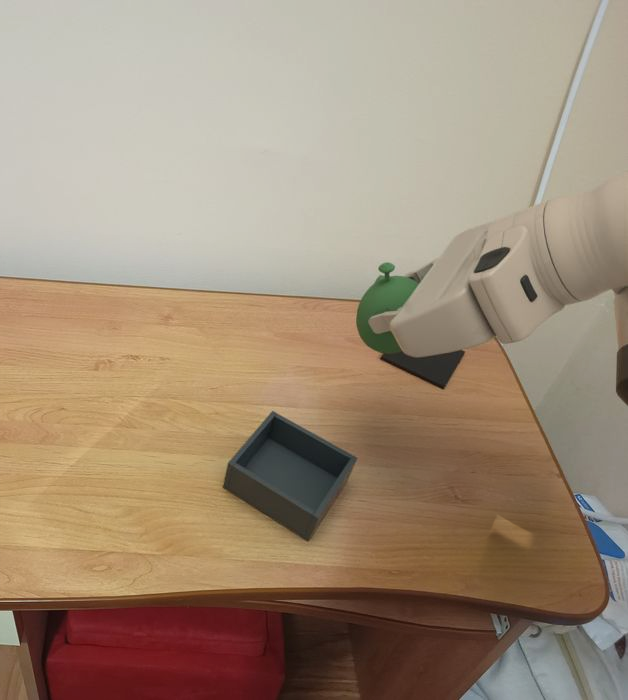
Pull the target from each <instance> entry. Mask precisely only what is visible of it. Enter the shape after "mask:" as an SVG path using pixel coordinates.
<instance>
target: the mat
mask: <svg viewBox="0 0 628 700" xmlns="http://www.w3.org/2000/svg"><path fill="white" fill-rule="evenodd" d="M465 354H466V351H464V350H459V351H454V352H449V353H444V354H438V355H432V356H426V357H412V356H409V355H406V354H405V353H404V352H403V351H401V352H398V353H392V354H386V353H382V355H381V356H380V358H379V359H380V360H381V361H384V362H386V363H388V364H389V365H392V366H394V367H396V368H397V369H400V370H403V371H405V372H407V373H409V374H411V375H412V376H415V377H417V378H419V379H422V380H423V381H425V382H428V383H430V384H432V385H435V386H436V387H439V388H440V389H442V390H444V389H445V388H446V387H447V384H448V383H449V381H450V380H451V377H452V376H453V374H454V373H455V371H456V369H457V367H458V366H459V364H460V363H461V361H462V359H463V357H464V355H465Z"/></svg>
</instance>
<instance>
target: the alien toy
mask: <svg viewBox="0 0 628 700" xmlns="http://www.w3.org/2000/svg"><path fill="white" fill-rule="evenodd" d="M377 270H378V271H379V272H380V273H382V274H381V275H380V274H379V275H378V277H377V278H376V279H375V281H374V283H373V284H371V286H369V287H368V289H366V291H365V292H364V294H363V295H362V297H361V299H360V301H359V302H358V305H357V309H356V317H355V323H356V324H355V325H356V329H357V332H358V335H359V337H360V339H361V341H362V342H363V343H364V344H365V345H366V346H367V347H368V348H369V349H371V350H373V351H375V352H377V353H380V354H383V353H386V354H392V353H398V352H401V351H402V350H401V348H400V346H399V344H398V343H397V341H396V339H395V337H394V335H393V333H392V331H388V332H384V333H380V334H376V333H374V332H373V330H372V328H371V327H370V325H369V323H368V320H369V319H370V318H371V317H372V315H373V314H374V313H375V312H377V311H381V310H383V309H387V308H388V309H389V311H397V310H398V308H400V307H402V306H403V305H404V304H405V302H406V301H407V300H408V298H409V297H410V296H411V294H412V293H413V292H414V290H415V289H416V288H417V286H418V285H419V283H417V282H416V281H414V280H412V279H410V278H407V277H403V276H404V275H391V276H390V273H392V272H393V271H394V270H396V265H394V263H392V262H387V261H386V262H383V263H381V264H380V265H379V266H378V269H377ZM383 274H384V275H383ZM424 277H425V275H424V276H422V279H423V278H424Z"/></svg>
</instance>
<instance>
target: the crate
mask: <svg viewBox="0 0 628 700" xmlns="http://www.w3.org/2000/svg"><path fill="white" fill-rule="evenodd" d="M357 460H358V457H357V456H355V455H353V454H352V453H350V452H348V451H346V450H344V449H342V448H341V447H339V446H337V445H335V444H334V443H332V442H330V441H328V440H326V439H325V438H323V437H321V436H319V435H317V434H316V433H314V432H312V431H310V430H309V429H306V428H304V427H303V426H302V425H299V424H298V423H295V422H294V421H292V420H290V419H288V418H287V417H284V416H283V415H281V414H279V413H277V412H276V411H274V410H272V411H271V412H270V413H269V414H268V415H267V416H266V418H265V419H264V420H263V421H262V422H261V423H260V425H259V426H258V427H257V428H256V429H255V431H254V432H253V433H251V435H250V436H249V438H248V439H247V440H246V441H245V443H244V444H242V446H240V448H239V449H238V451H236V453H235V454H234V455H233V456H232V458H231V459H230V460H229V461H228V462H227V466H226V471H225V475H224V479H223V484H222V485H223V486H222V488H223V489H225V490H226V491H228V492H229V493H231V494H232V495H233V496H235V497H237V498H239V499H240V500H242V501H243V502H245V503H247V504H248V505H249V506H251V507H253V508H255V509H256V510H258V511H259V512H261V513H262V514H263V515H266V516H267V517H268V518H270V519H272V520H273V521H274V522H277V523H278V524H280V525H281V526H283V527H284V528H286V529H288V530H289V531H291V532H292V533H294V534H295V535H297V536H299V538H302V539H303V540H305V541H307V542H310V540H311V539H312V537H313V536H314V534H315V533H316V531H317V530H318V528H319V526H320V525H321V523H323V520H324V519H325V518H326V515H327V514H328V512H329V511H330V510H331V508H332V507H333V505H334V503H335V502H336V500H337V499H338V497H339V495H340V494H341V492H342V491H343V490H344V487H345V486H346V484H347V483H348V481H349V479H350V476H351V475H352V472H353V469H354V468H355V465H356V463H357Z"/></svg>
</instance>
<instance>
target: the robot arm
mask: <svg viewBox="0 0 628 700" xmlns="http://www.w3.org/2000/svg"><path fill="white" fill-rule="evenodd" d="M424 275H425V277H424V278H423V279H422V276H424ZM402 276H403V277H407V278H410V279H412V280H414V281H416V282H417V283H419V285H418V286H417V288H416V289H415V290H414V292H413V293H412V294H411V296H410V297H409V298H408V300H407V301H406V302H405V304H404V305H403V306H402V307H400V308H398V310H397V311H389V309H388V308H387V309H383V310H381V311H377V312H375V313H374V314H373V315H372V317H371V318H370V319H369V320H368V323H369V325H370V327H371V328H372V330H373V332H374V333H376V334H380V333H384V332H388V331H392V333H393V335H394V337H395V339H396V341H397V343H398V344H399V346H400V348H401V350H402V351H403V352H404V353H405V354H406V355H409V356H412V357H426V356H432V355H438V354H444V353H449V352H454V351H459V350H463V351H464V350H468V349H472V348H475V347H479V346H482V345H485V344H486V343H488V342H491V341H492V340H494V338H497V340H498V341H499V343H501V344H502V345H509V344H513V343H517V342H521V341H524V340H525V339H527V338H528V337H529V336H530V335H531V334H533V333H534V332H535V331H536V330H537V329H538V328H539V327H540V326H541V325H542V324H543V323H544V322H545V321H547V320H548V319H549V318H551V317H552V316H554V315H555V314H557V313H559V312H561V311H562V310H564V308H565V307H566V306H569V305H573V304H577V303H581V302H585V301H588V300H591V299H595V298H596V297H598V296H600V295H602V294H604V293H606V292H609V291H611V290H612V292H613V295H614V299H613V308H614V309H613V310H614V318H615V328H616V339H617V352H616V367H615V369H616V372H615V393H616V395H617V397H618V398H619V399H620V400H621V401H622V402H623V403H624V404H625V405H626V406H627V407H628V170H627V171H624V172H622V173H619V174H616V175H614V176H611V177H610V178H608V179H606V180H605V181H603V182H602V183H600V184H598V185H597V186H595V187H593V188H592V189H590V190H587V191H585V192H581V193H577V194H572V195H565V196H558V197H557V196H556V197H553V198H551V199H548V200H546V201H542V202H540V203H537V204H534V205H531V206H529V207H526V208H523V209H520V210H519V211H516V212H513V213H510V214H507V215H505V216H501V217H499V218H497V219H493V220H492V221H490V222H486V223H483V224H480V225H476V226H474V227H471V228H468V229H466V230H464V231H462V232H460V233H458V234H456V235H455V236H454V237H453V238H452V239H451V240H450V242H449V243H448V244H447V246H446V247H445V249H443V251H442V253H441V254H440V255H439V256H438V257H437V258H434V259H433V260H431V261H429V262H428V263H426V264H424V265H422V266H421V267H420V268H418V269H415V270H412V271H409V272H407V273H405V274H404V275H402Z"/></svg>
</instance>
